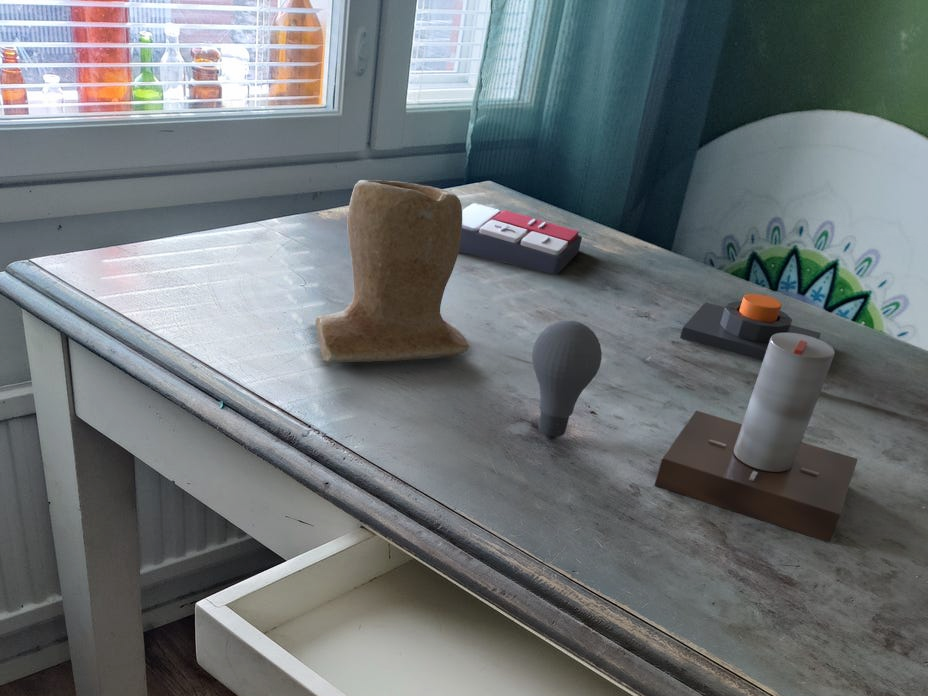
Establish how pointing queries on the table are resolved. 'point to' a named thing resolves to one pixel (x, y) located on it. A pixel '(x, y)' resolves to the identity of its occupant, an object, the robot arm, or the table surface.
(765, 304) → the plunger
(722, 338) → the button block
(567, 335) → the light bulb
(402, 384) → the table surface
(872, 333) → the table surface
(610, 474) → the table surface
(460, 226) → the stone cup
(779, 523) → the dial panel
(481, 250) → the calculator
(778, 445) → the dial
